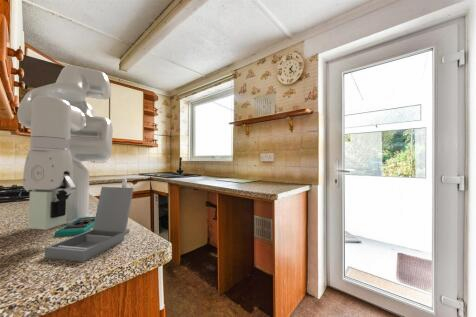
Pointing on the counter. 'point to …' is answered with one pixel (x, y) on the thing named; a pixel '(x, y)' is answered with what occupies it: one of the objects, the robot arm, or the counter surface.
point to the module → (43, 210)
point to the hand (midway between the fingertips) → (48, 215)
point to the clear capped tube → (124, 185)
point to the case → (84, 245)
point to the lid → (113, 209)
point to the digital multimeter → (76, 227)
